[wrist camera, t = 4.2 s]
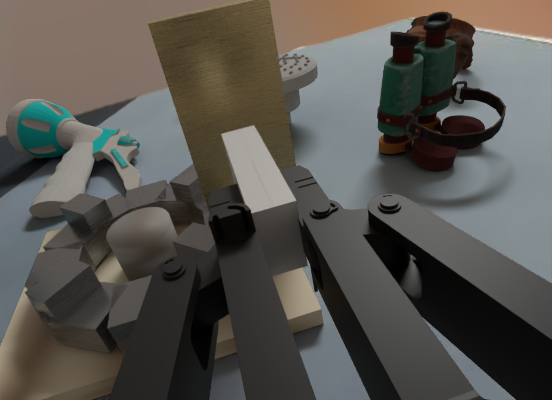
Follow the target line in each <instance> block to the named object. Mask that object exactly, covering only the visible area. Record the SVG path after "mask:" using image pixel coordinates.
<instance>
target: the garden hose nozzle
mask: <svg viewBox="0 0 552 400" xmlns="http://www.w3.org/2000/svg"><path fill="white" fill-rule="evenodd" d="M6 132H7V136H8V139H9V141H10V143H11V144H12V146H13V147H14V148H15V149H16V150H17V151H18V152H20V153H22V154H24V155H26V156H29V157H34V158H52V157H59V156H62V155H64V156H63V157H62V161H61V162H60V163H59V164H58V165H57V167H56V171H55V173H54V175H52V176H51V177H50V178H49V179H48V180H47V181H46V183H45V184H44V189H43V190H42V191H41V192H40V193H39V194H38V195H37V196H36V197H35V199H34V200H33V202H32V205H31V207H30V210H29V211H30V213H31V214H32V215H34V216H36V217H39V218H49V217H54V216H60V215H63V213H62V212H61V210H60V208H59V207H60V206H61V205H63V204H64V203H66V202H68V201H69V200H71V199H72V198H74V197H75V196H77V195H78V194H80V193H82V194H85V191H86V184H87V182H88V179H89V177H90V174H91V171H92V168H93V164H94V161H95V159H96V161H99V160H102V159H104V158H106V159H108V160H109V161H111V162H112V163H113V164H114V165H115V167H116V169H117V172H118V174H119V176H120V178H121V179H122V181H123V183H124V186H125V189H126V192H127V190H130V189H134V188H137V187H141V186H142V180H141V177H140V174H139V172H138V171H137V170H136V169H135V167H134V166H132V165H131V164H130V163H129V162H130V161H131V159H132V158H133V157H135V156H137V155H138V154H139V150H138V148H139V146H140V144H139V143H138V142H137V141H136V140H135V139H132V138H130V137H129V134H128V131H126V130H121V131H120V129H118V130H117V131H115V130H109V129H103V128H97V127H93V126H88V125H85V124H82V123H79V122H78V121H77V120H76V119H75V118H74V117H73V116H72V115H70V113H69V112H68V111H67V110H66V109H64V108H62V107H60V106H58V105H55V104H52V103H51V102H48V101H46V100H41V99H27V100H23V101H21V102H19V103H18V104H16V105H15V106H14V107H13V109H12V110H11V112H10V113H9V115H8V118H7V122H6ZM65 153H66V154H65Z"/></svg>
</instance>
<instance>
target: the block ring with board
mask: <svg viewBox="0 0 552 400" xmlns="http://www.w3.org/2000/svg"><path fill="white" fill-rule="evenodd" d="M272 22H273V21H272V15H271V9H270V3H269V0H238V1H234V2H229V3H225V4H220V5H216V6H212V7H207V8H202V9H198V10H194V11H189V12H185V13H180V14H176V15H171V16H167V17H162V18H158V19H154V20H149V21H148V25H149V28H150V31H151V35H152V38H153V41H154V44H155V47H156V50H157V53H158V56H159V59H160V62H161V65H162V68H163V71H164V74H165V77H166V81H167V84H168V87H169V90H170V93H171V96H172V99H173V102H174V105H175V108H176V111H177V114H178V117H179V121H180V124H181V127H182V130H183V133H184V136H185V139H186V142H187V145H188V148H189V151H190V154H191V157H192V160H193V164H192V165H191V166H190V167H188V168H187V169H186V170H184V171H183V172H182V173H180V174H179V175H178V176H176V177H175V178H174V179H173V180H171V181H170V183H169V184H167V182H166V180H163V181H159V182H156V183H152V184H148V185H145V186H141V187H137V188H134V189H130V190H127V192H126V198H125V197H123V196H122V195H120V194H117V195H115V196H113V197H111V198H109V199H107V200H106V201H105V199H101V198H97V197H93V196H90V195H86V194H82V193H80V194H78V195H77V196H75V197H74V198H72V199H71V200H69V201H68V202H66V203H64V204H63V205H61V206H60V207H59V208H60V210H61V212H62V213H63V215H64V217H65V219H66V220H67V222H68V224H67V225H66V226H65V227H64V228H63V229H62V230H61V231H60V232H58V233H57V234H56V235H55V236H54V237H53V238H52V239H51V240H50V241H49V242H48V243H46V244H45V245H44V246H43V248H44V250H45V251H44V252H41V253H38V254H37V257H36V259H35V262H34V264H33V266H32V269H31V271H30V274H29V276H28V279H27V281H26V284H25V287H26V288H27V291H25V294H26V295H27V297H28V299H29V300H30V302H31V304H32V305H33V307H34V309H35V310H36V312H37V314H38V315H39V317H40V319H41V320H42V321H43V323H44V324H45V325H46V327H47V328H48V329H49V331H50V332H51V333H52V335H53V336H54V337H55V339H56V340H57V341H58V342H60V341H61V342H62V343H63V344H64V346H66V347H72V348H78V349H84V350H90V351H96V352H102V353H107V354H112V353H113V351H114V350H115V348H116V347H117V345H118V346H119V348H120V349H121V351H122V353H125V352H126V349H127V346H128V343H129V340H130V337H131V334H132V331H133V329H134V326H135V323H136V320H137V317H138V314H139V311H140V309H141V306H142V303H143V300H144V297H145V294H146V291H147V289H148V286H149V283H150V280H151V277H152V275H150V276H147V277H144V278H140V279H137V280H133V281H130V282H127V283H123V284H117V283H107V282H99V280H98V278H97V276H96V275H95V269H96V266H97V265H98V264H99V263H100V262H101V260H102V259H103V258H104V257H105V256H106V255H107V254H108V252H109V251H110V250H111V247H110V245H109V243H108V241H107V238H106V235H107V232H108V230H109V228H110V227H111V226H112V224H113V223H114V222H116V221H117V220H118V219H120V218H121V217H123V216H124V215H126V214H128V213H130V212H133V211H135V210H138V209H142V208H147V207H159V208H163V209H165V210H166V211H167V212H168V213H169V215H170V218H171V220H172V222H176V223H192V224H191V225H190V226H188V227H187V228H186V229H185V230H184V231H183V232H182V233H181V234H180V235H179V236H178V237H176V238H175V239H174V240H173V241H172V242H173V244H174V247H175V249H176V252H177V254H178V255H187V256H190V257H192V258H193V259H194V260H196V259H198V258H199V257H201V256H203V255H204V254H206V253H207V252H208V251H209V250H210V249H211V248H212V247H213V245H214V244H215V241H214V238H213V235H212V232H211V229H210V226H209V223H208V219H209V216H210V215H211V211H210V206H209V200H208V198H209V196H210V194H211V192H212V190H216V189H220V188H223V187H227V186H230V185H234V184H235V183H234V180H233V176H232V172H231V169H230V165H229V161H228V157H227V154H226V150H225V146H224V143H223V139H222V135H221V134H223V133H226V132H230V131H234V130H238V129H242V128H246V127H249V126H253V125H254V126H255V128H256V130H257V131H258V133H259V135H260V137H261V138H262V140H263V142H264V144H265V146H266V147H267V149H268V151H269V153H270V154H271V156H272V158H273V160H274V162H275V163H276V165H277V167H278V169H279V171H281V170H285V169H288V168H292V167H295V166H296V162H295V156H294V150H293V144H292V138H291V132H290V126H289V119H288V113H287V107H286V101H285V95H284V89H283V83H282V77H281V70H280V64H279V58H278V52H277V46H276V40H275V34H274V28H273V23H272Z"/></svg>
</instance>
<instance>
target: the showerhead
mask: <svg viewBox="0 0 552 400" xmlns="http://www.w3.org/2000/svg"><path fill="white" fill-rule="evenodd" d="M278 58H279V64H280V70H281V77H282V83H283V89H284V95H285V101H286V107H287V113H288V119H289V124H290V123H291V116H290V112H291V111H293V110H295V109H296V108H297V107H298V106H299V105H300V96H299V89H301V88H303V87H305V86H307V85H309V84H310V83H312V82H313V81H314V80H315V79H316V78H317V76H318V72H317V62H316V60H315V59H313V58H310V57H307V56H304V55H301V56H300V55H297V54H294V55H288V54H285V55H284V56H278Z"/></svg>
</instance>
